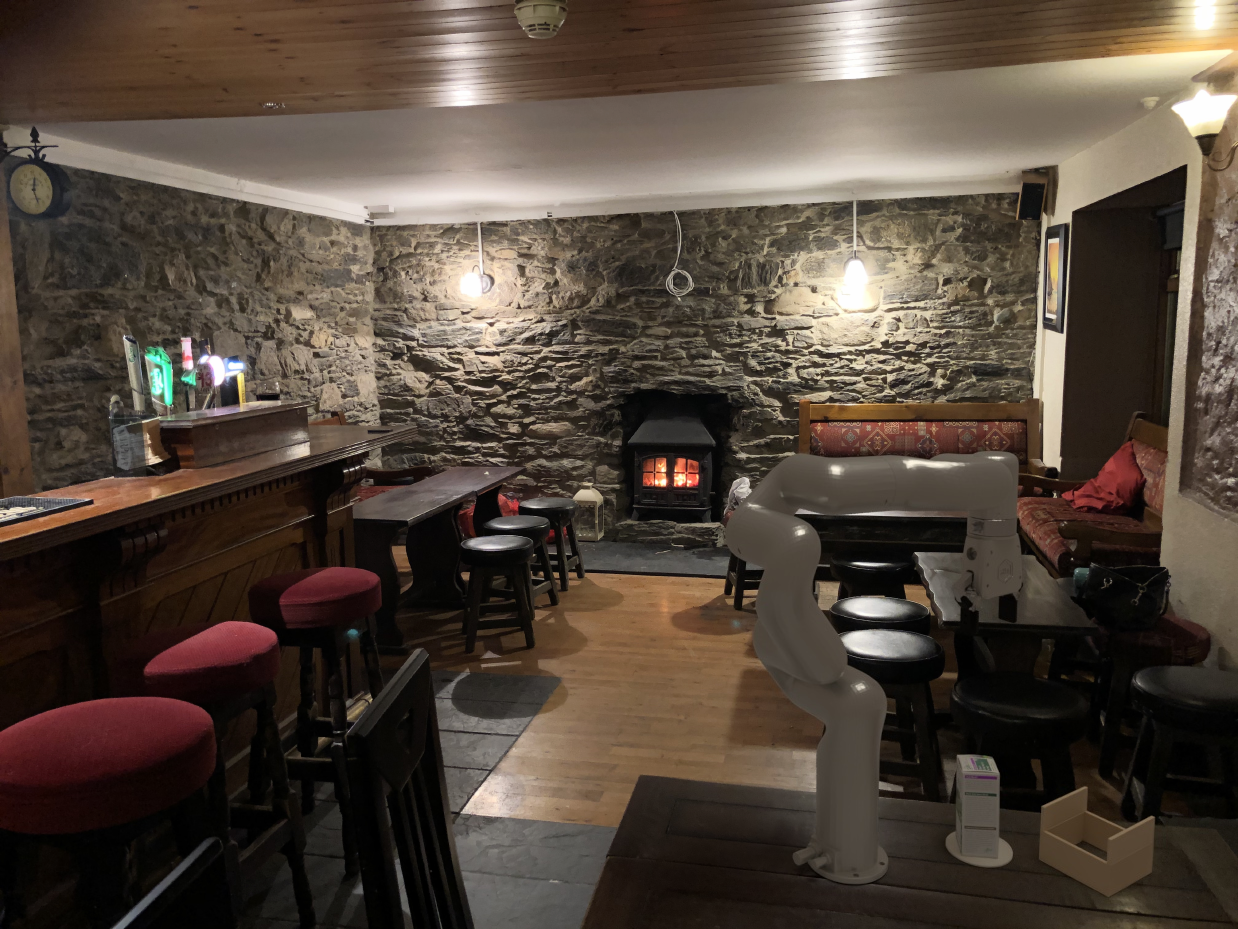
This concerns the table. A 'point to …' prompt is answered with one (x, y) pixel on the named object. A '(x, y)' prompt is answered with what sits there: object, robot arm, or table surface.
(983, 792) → the syrup box
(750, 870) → the table surface
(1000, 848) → the beer mat
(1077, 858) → the wooden frame
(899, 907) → the table surface
